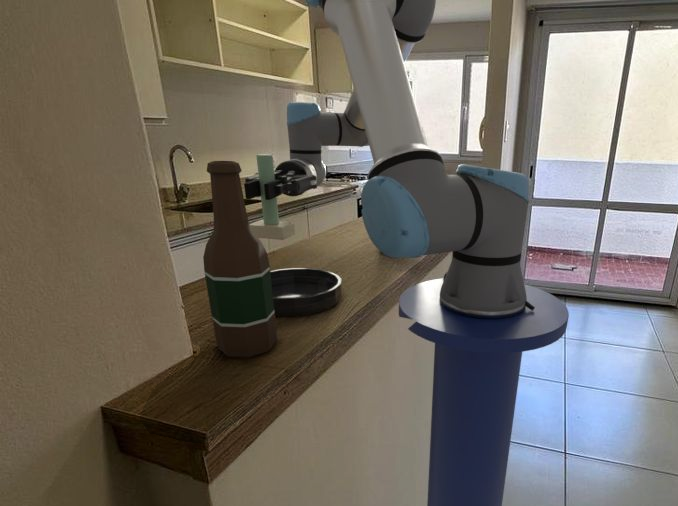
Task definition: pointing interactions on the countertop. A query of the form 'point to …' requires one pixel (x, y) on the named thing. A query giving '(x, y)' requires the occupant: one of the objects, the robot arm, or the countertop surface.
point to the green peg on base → (269, 205)
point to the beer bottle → (237, 271)
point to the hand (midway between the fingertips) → (257, 191)
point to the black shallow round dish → (304, 291)
